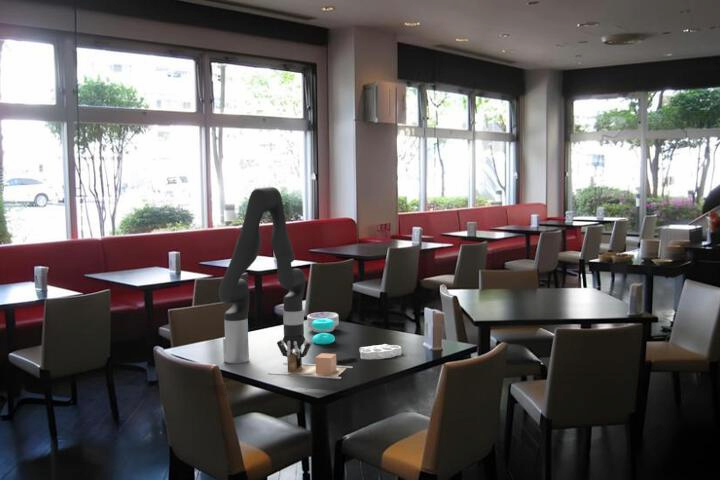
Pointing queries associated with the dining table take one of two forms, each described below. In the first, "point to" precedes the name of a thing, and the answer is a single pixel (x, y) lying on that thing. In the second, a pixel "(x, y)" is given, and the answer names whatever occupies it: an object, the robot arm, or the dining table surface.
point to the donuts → (322, 325)
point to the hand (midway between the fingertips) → (294, 367)
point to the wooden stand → (307, 368)
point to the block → (325, 363)
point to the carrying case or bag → (343, 358)
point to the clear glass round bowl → (323, 316)
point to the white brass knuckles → (380, 351)
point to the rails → (310, 375)
